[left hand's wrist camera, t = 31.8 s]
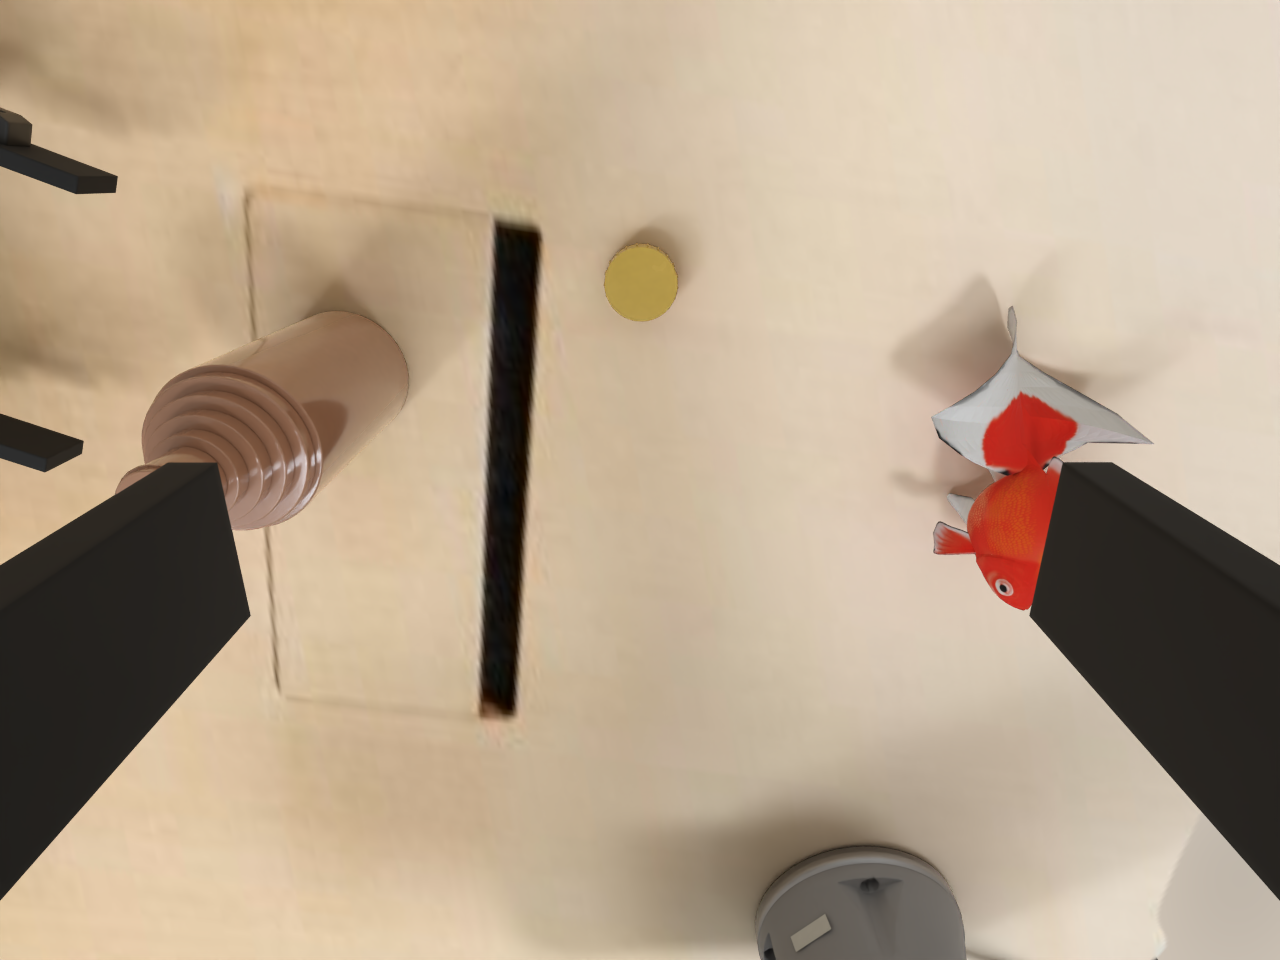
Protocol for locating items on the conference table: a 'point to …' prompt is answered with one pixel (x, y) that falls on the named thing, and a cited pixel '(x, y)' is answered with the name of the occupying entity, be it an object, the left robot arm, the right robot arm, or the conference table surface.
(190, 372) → the bottle
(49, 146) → the conference table surface
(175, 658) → the left robot arm
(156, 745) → the conference table surface
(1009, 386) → the fish
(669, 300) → the cap
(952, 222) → the conference table surface
